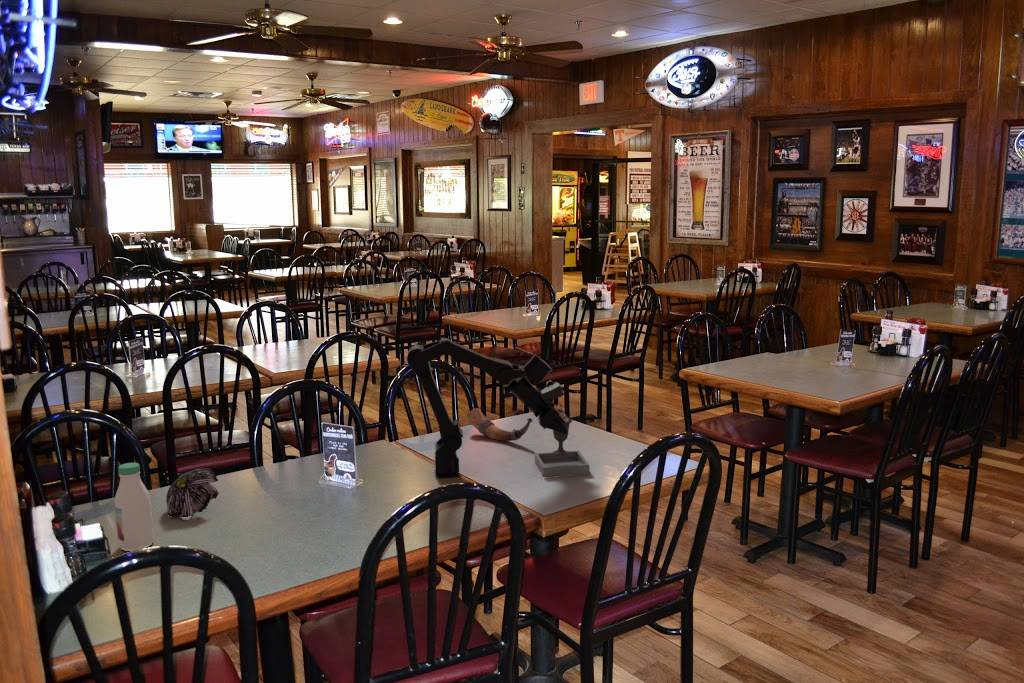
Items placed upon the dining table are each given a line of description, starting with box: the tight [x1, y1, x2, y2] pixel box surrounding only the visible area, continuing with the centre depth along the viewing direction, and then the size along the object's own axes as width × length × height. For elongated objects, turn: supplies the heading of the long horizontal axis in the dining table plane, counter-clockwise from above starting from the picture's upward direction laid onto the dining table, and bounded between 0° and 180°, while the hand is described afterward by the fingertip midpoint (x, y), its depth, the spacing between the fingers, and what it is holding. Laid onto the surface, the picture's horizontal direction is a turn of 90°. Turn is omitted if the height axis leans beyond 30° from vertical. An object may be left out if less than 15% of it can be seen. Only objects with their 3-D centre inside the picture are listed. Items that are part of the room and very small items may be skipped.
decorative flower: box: [165, 467, 219, 518], centre depth 218 cm, size 14×12×15 cm
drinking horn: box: [465, 407, 534, 442], centre depth 274 cm, size 5×29×10 cm, turn 46°
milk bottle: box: [114, 462, 155, 550], centre depth 195 cm, size 8×8×20 cm
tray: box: [534, 450, 590, 478], centre depth 246 cm, size 14×14×3 cm
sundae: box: [552, 401, 573, 456], centre depth 244 cm, size 7×7×15 cm
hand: (565, 429), depth 244 cm, fingers closed on sundae, 6 cm apart
